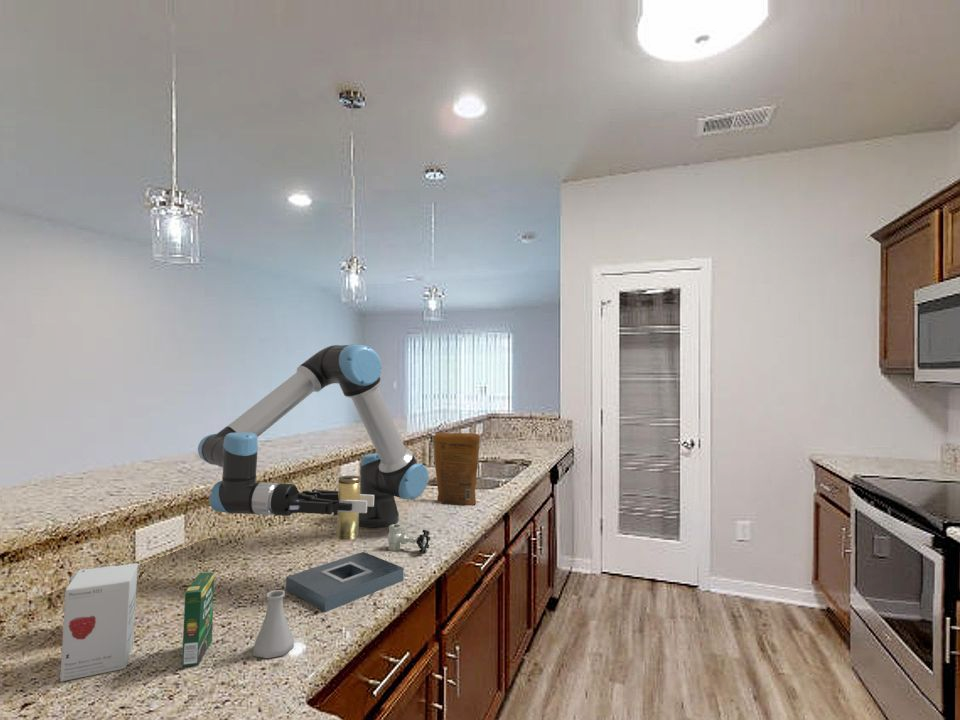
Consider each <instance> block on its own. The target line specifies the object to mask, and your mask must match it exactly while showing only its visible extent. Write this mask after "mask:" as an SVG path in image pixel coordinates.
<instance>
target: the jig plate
mask: <svg viewBox="0 0 960 720" xmlns="http://www.w3.org/2000/svg"><path fill="white" fill-rule="evenodd" d="M285 579H286V580H285V590H286V591H287V592H289V593H291V594H292V595H294V596H296V597H298V598H300V599H301V600H303V601H305V602H307V603H309V604H310V605H312V606H314V607H316V608H317V609H319V610H320V611H322V612H325V613H326V612H329V611H330V610H333V609H336V608H338V607H341V606H343V605H346V604H348V603H351V602H353V601H356V600H359V599H361V598H363V597H366V596H368V595H370V594H373V593H375V592H379V591H381V590H383V589H385V588H387V587H391V586H392V585H395V584H397V583H400V582H403V581H404V567H402V566H400V565H398V564H394V563H392V562H390V561H387V560H385V559H382V558H381V557H378V556H375V555H373V554H370V553H367V552H365V551H362V552H359V553H355V554H352V555H349V556H345V557H344V558H339V559H337V560H334V561H331V562H327V563H324V564H321V565H318V566H315V567H313V568H312V567H311V568H308V569H305V570H303V571H299V572H296V573H292V574H290V575H287V576H286V577H285ZM402 580H403V581H402ZM380 589H381V590H380Z"/></svg>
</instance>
